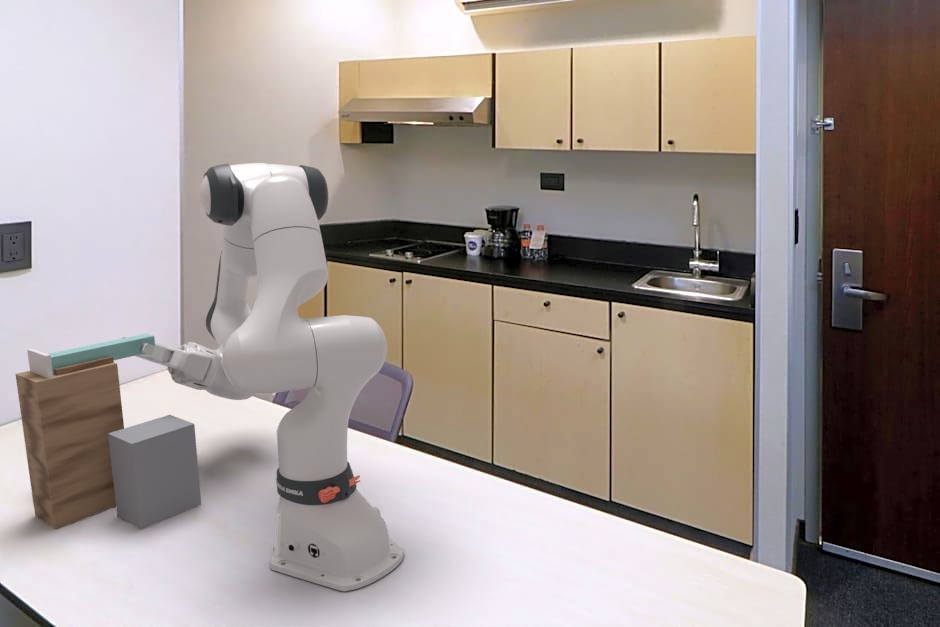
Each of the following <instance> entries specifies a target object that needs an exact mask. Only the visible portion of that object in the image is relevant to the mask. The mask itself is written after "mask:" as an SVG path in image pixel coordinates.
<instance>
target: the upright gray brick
mask: <svg viewBox="0 0 940 627" xmlns="http://www.w3.org/2000/svg"><path fill="white" fill-rule="evenodd" d="M108 439H109V448H110V457H111V465H112V474H113V483H114V492H115V501H116V507H115V508H116V516H117V517H118V518H119V519H121V520H123V521H124V522H126V523H128V524H130V525H132V526H134V527H135V528H137V529H139V530H144V529H146V528H148V527H150V526H152V525H153V526H154V525H155V524H157V523H158V524H159V523H160V522H162V521H164V520H167V519H170V518H172V517H174V516H177V515H180V514H182V513H184V512H186V510H187V511H189V510H192V509H194V508H196V507H198V505H199V506H200V505H202V497H201V496H202V495H201V485H200V474H199V464H198V463H199V461H198V453H197V451H198V450H197V440H196V429H195V423H193V422H191V421H190V422H189V421H188V420H185V419H183V418H180V417H178V416H174V415H172V414H168V415H165V416H162V417H158V418H155V419H151V420H147V421H144V422H142V423H138V424H134V425H131V426H129V427H124V429H121V430H118V431H114V432H111V433H108ZM181 512H182V513H181Z"/></svg>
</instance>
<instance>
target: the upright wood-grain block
mask: <svg viewBox="0 0 940 627" xmlns="http://www.w3.org/2000/svg"><path fill="white" fill-rule="evenodd" d="M119 377H120V376H119V369H118V362H117V363H116V362H115V360H113V357H107V358H102V359H98V360H93V361H89V362H84V363H80V364H75V365H71V366H66V367H62V368H57V369H55V374H53V378H49V379H48V378H46V377H43V376H40V375H38V374H35V373H33V372H30V370H26V371H24V372H18V373H15V380H16V387H17V389H16V390H17V394H18V402H19V409H20V416H21V423H22V425H21V426H22V431H23V439H24V446H25V453H26V460H27V465H28V467H27V468H28V474H29V482H30V489H31V495H32V496H31V497H32V504H33V509H34V516H35V518H36V519H37V518H38V519H39V520H40V521H42V522H43V523H45V524H46V525H48V526H50V527H51V528H53V529H54V530H58V529H61V528H64V527H66V526H69V525H70V524H74V523H77V522H79V521H82V520H83V519H84V520H85V519H87V518H89V517H92V516H94V515H97V514H99V513H102V512H105V511H108V510H110V509H113V508H116V507H115V506H116V501H115V492H114V483H113V474H112V465H111V457H110V448H109V439H108V433H111V432H114V431H118V430H121V429H124V428H125V424H124V415H123V414H124V413H123V405H122V396H121V386H120V378H119Z"/></svg>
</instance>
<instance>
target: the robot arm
mask: <svg viewBox="0 0 940 627" xmlns="http://www.w3.org/2000/svg"><path fill="white" fill-rule="evenodd" d="M328 188H329V187H328V184H327V180H326V177H325V176H324V174H323V173H322V172H321V171H320V170H319V169H318V168H315V167H312V166H308V165H304V164H303V165H302V164H300V165H299V166H295V165H289V164H288V165H287V164H280V163H279V164H278V163H266V162H247V163H238V164H237V163H236V164H231V165H230V164H229V163H222V164H217V165H214V166H211V167H209V168H208V169H207V170H206V172H204V174H203V179H202V181H201V185H200V189H199V190H200V191H199V192H200V195H199V196H200V202H201V206H202V207H203V209H204V211H205V214H206V216H207V218H209V219H210V220H211V221H212V222H214V223H215V224H219V225H223V226H222V249H221V252H220V256H219V262H218V269H217V275H216V276H217V278H216V286H215V294H214V299H213V301H212V304H211V306H210V308H209V310H208V312H207V315H206V319H205V329H206V330H207V332H208V333H209V335H210V336H211V337H212V338H213V339H214V340H215V341H216V343H217V345H219V346H218V347H217V349H212V348H209V347H207V346H204V345H201V344H199V343H197V342H193V341H188V342H186V343H184V344H182V345H179V346H177V347H172V346H169V345H166V344H162V343H158V342H155V346H153V345H150V344H147V343H142V344H141V347H140V351H141V352H143V353H144V354H140V355H136V356H135V357H136V358H140V359H143V360H145V361H149V362H152V363H155V364H158V365H161V366H164V367H167V371H168V372H169V374H170V377H171V380H172V381H173V382H174V383H175V384H179V385H181V386H184V387H188V388H190V389H194V390H197V391H206V392H207V393H208V394H210V395H213V396H216V397H218V398H223V399H225V400H226V399H227V400H232V401H243V400H248V399H251V398H252V397H253V396H255V394H276V393H283V392H290V391H296V390H304V389H309V391H308V393H307V395H306V396H305V397H304V399H302V401H301V402H300V403H298V405H296V406H294V407H293V408H292V409H290V410H289V411H287V412H286V413H285V414H284V416H283V417H281V420H280V422H279V423H278V426H277V429H276V440H277V441H276V442H277V458H278V468H277V469H276V478H275V483H276V492H277V494H278V495H279V501H278V505H277V509H276V510H277V511H276V515H275V520H274V522H275V525H274V546H273V555H272V557H271V558H270V561H269V568H270V570H272V571H273V572H279V573H281V574H285V575H288V576H291V577H294V578H297V579H301V580H304V581H307V582H311V583H313V584H316V585H320V586H324V587H327V588H330V589H334V590H337V591H340V592H349V591H353V590H357V589H360V588H362V587H363V588H364V587H365V586H368V585H370V584H372V583H374V582H376V581H378V580H380V579H381V578H383V577H384V576H386V575H388V574H389V573H390V572H392V571H393V570H394V569H396V568H397V567H398V566H399V565H400V564H401V562H402V561H403V559H404V557H405V549H404V548H403V547H401V546H400V545H399V544H397V543H396V542H394V541H392V540H391V539H390V538H389V532H388V531H389V530H388V527H387V526H388V525H387V523H386V521H385V520H384V518H383V517H382V516H381V515H382V514H381V511H380V509H379V507H377V506H373V505H371V504H370V502H369V501H368V499H366V498H365V497H364V495H363V494H362V493H361V492H360V491H359V490H358V489H357V484H358V483H360V482H361V480H360V478H361V475H356V476H355V475H354V472H353V468H352V467H351V464H350V462H349V461H348V430H349V428H348V427H349V419H350V415H351V413H352V410H353V406H354V404H355V402H356V400H357V398H358V396H359V394H361V391H362V390H363V388H364V387H365V386H366V385H367V384H368V382H369V381H370V380H371V379H373V378H374V376H376V375H377V374H378V373H379V372H380V371H381V369H382V368H383V365H384V364H385V362H386V358H387V354H388V342H387V337H386V335H385V332H384V331H383V329H382V327H381V325H379V323H378V322H377V320H375V319H373V318H372V317H369V316H360V315H349V314H342V315H331V316H321V317H310V318H302V317H300V315H299V307H300V306H301V305H303V304H304V303H306V302H307V301H310V300H311V299H312V298H314V297H315V296H317V295H318V294H319V293H320V292H322V290H323V289H325V286H326V284H327V282H328V280H329V279H328V278H329V268H328V263H327V258H326V252H325V248H324V243H323V237H322V231H321V229H320V228H321V227H320V223H319V221H320V220H321V219H322V218H323V217H324V216H325V214H326V212H327V211H328V210H327V209H328V206H329V198H330V197H329V189H328ZM254 277H257V294H256V297H255V302H254V305H253V307H252V309H251V308H250V306H249V304H248V301H247V291H248V285H249V278H254ZM122 338H127V337H125V336H122V337H121V338H120V339H122ZM358 479H359V480H358Z"/></svg>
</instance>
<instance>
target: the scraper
mask: <svg viewBox="0 0 940 627" xmlns="http://www.w3.org/2000/svg"><path fill="white" fill-rule="evenodd" d="M121 338H122V337H121ZM121 338H118V339H112V340H109V341H104V342H98V343H94V344H89V345H84V346H80V347H75V348H69V349H65V350H64V349H63V350H60V351H56V352H50V353H45V352H44V351H40V350H37V349H35V348H28V349H27V358H28V366H29V371H30V372H33V373H35V374H38V375H40V376H43V377H46V378H48V379H49V378H53V374H55V369H57V368H62V367H66V366H71V365H75V364H80V363H84V362H89V361H93V360H98V359H102V358H107V357H113V360H114V361H117V360H121V359H122V360H123V359H126V358H131V357H136V355H140V354H144V353H143V352H141V351H140V347H141V344H142V343H147V344H150V345H153V346H155V343H156V341H155V340H156V339H155V335H153V334H149V333H143V334H136V335H133V336H128V337H126V338H122V339H121Z"/></svg>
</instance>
